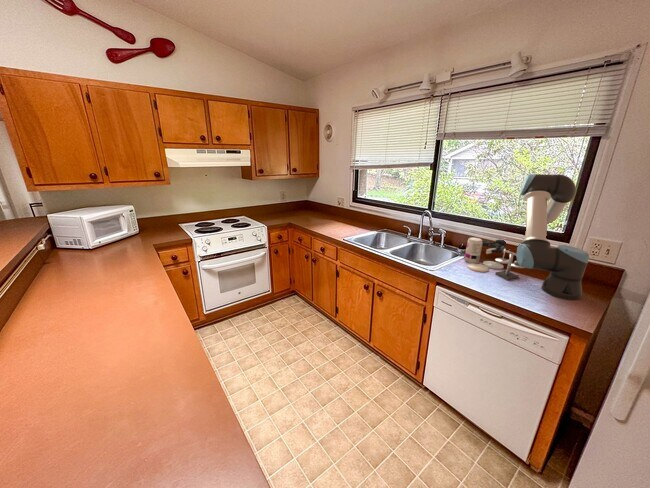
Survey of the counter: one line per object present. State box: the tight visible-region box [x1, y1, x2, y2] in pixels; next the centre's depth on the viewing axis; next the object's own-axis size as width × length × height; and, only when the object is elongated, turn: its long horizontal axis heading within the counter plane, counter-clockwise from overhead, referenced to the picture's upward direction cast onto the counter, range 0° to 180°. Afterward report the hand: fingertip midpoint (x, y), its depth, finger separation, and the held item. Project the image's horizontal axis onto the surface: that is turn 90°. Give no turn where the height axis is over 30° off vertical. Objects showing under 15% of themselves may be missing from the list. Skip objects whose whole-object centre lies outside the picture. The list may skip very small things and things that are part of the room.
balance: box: [494, 250, 525, 281], centre depth 147 cm, size 8×19×17 cm, turn 109°
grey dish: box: [482, 260, 504, 270], centre depth 164 cm, size 11×11×1 cm
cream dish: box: [467, 263, 490, 273], centre depth 161 cm, size 11×11×1 cm
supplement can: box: [464, 236, 483, 264], centre depth 169 cm, size 8×8×15 cm
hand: (477, 248), depth 171 cm, fingers open, 13 cm apart
